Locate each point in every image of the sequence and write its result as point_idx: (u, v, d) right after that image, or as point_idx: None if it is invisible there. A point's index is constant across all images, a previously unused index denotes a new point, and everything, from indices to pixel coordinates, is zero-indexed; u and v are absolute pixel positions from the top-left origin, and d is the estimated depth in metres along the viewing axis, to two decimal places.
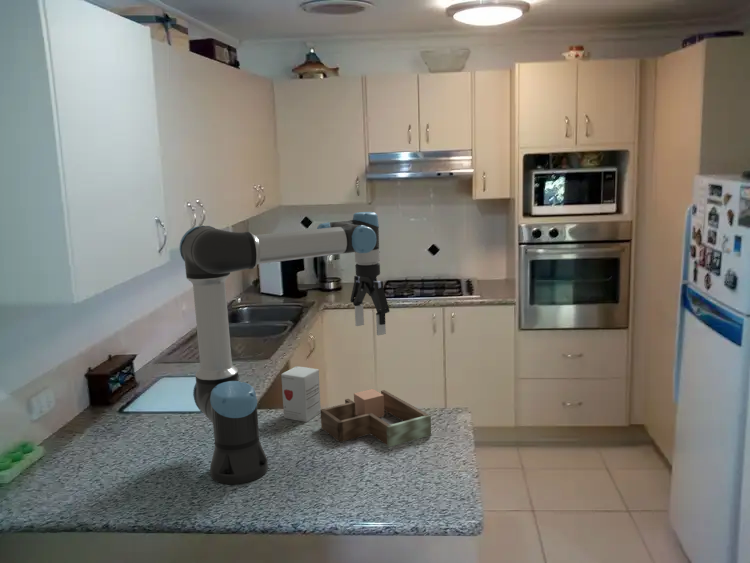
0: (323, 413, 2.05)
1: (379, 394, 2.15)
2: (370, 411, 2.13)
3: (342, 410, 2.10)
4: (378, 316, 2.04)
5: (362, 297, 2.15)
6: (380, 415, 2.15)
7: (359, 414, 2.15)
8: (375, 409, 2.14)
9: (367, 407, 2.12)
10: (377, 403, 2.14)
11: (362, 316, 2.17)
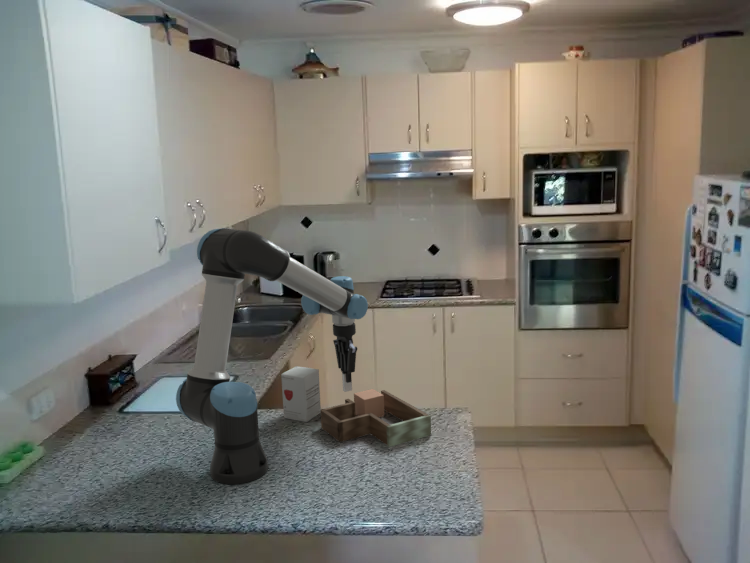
0: (323, 413, 2.05)
1: (379, 394, 2.15)
2: (370, 411, 2.13)
3: (342, 410, 2.10)
4: (345, 375, 2.27)
5: None
6: (380, 415, 2.15)
7: (359, 414, 2.15)
8: (376, 409, 2.14)
9: (367, 407, 2.12)
10: (377, 403, 2.14)
11: None
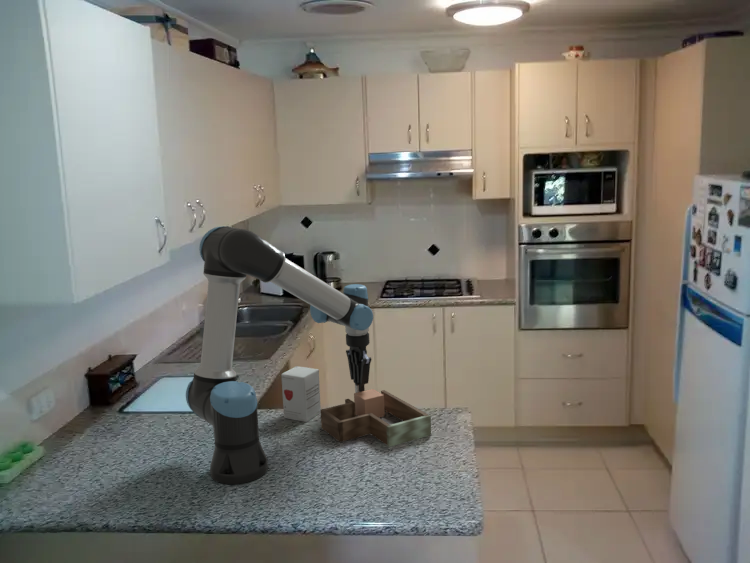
0: (323, 413, 2.05)
1: (379, 394, 2.15)
2: (370, 411, 2.13)
3: (342, 410, 2.10)
4: (358, 386, 2.19)
5: None
6: (380, 415, 2.15)
7: (359, 414, 2.15)
8: (376, 409, 2.14)
9: (367, 407, 2.12)
10: (377, 403, 2.14)
11: None
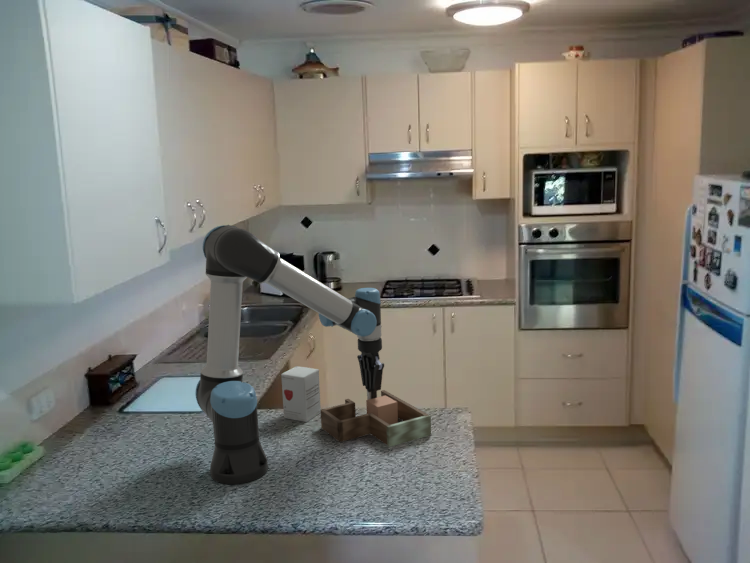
0: (323, 413, 2.05)
1: (392, 401, 2.09)
2: (383, 418, 2.06)
3: (342, 410, 2.10)
4: (370, 393, 2.13)
5: None
6: (394, 422, 2.09)
7: None
8: (389, 416, 2.07)
9: (380, 415, 2.06)
10: (391, 410, 2.07)
11: None
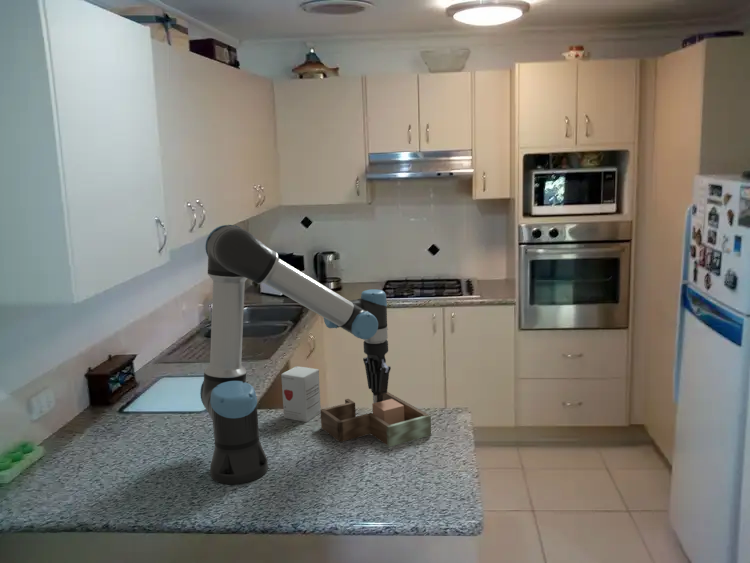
0: (323, 413, 2.05)
1: (399, 404, 2.06)
2: (390, 422, 2.03)
3: (342, 410, 2.10)
4: (376, 396, 2.10)
5: None
6: None
7: None
8: (395, 420, 2.04)
9: (386, 419, 2.02)
10: (397, 414, 2.04)
11: None
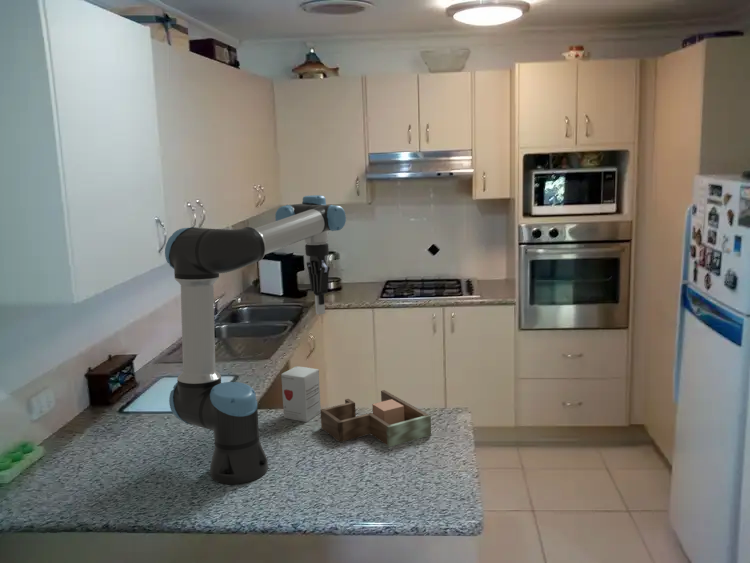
0: (323, 413, 2.05)
1: (399, 405, 2.06)
2: (390, 423, 2.03)
3: (342, 410, 2.10)
4: (317, 297, 2.23)
5: None
6: None
7: None
8: (395, 420, 2.04)
9: (386, 419, 2.02)
10: (397, 414, 2.04)
11: None
